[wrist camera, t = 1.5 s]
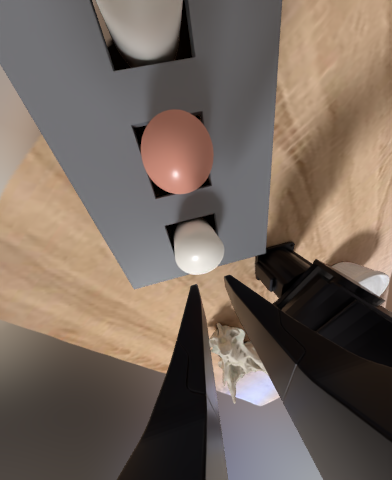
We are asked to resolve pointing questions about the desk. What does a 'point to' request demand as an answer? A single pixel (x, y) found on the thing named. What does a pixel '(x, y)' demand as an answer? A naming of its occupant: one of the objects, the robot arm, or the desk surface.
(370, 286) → the ramekin
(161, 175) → the knob middle
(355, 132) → the desk surface
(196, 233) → the knob
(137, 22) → the knob
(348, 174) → the desk surface
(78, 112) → the housing
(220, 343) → the skull
